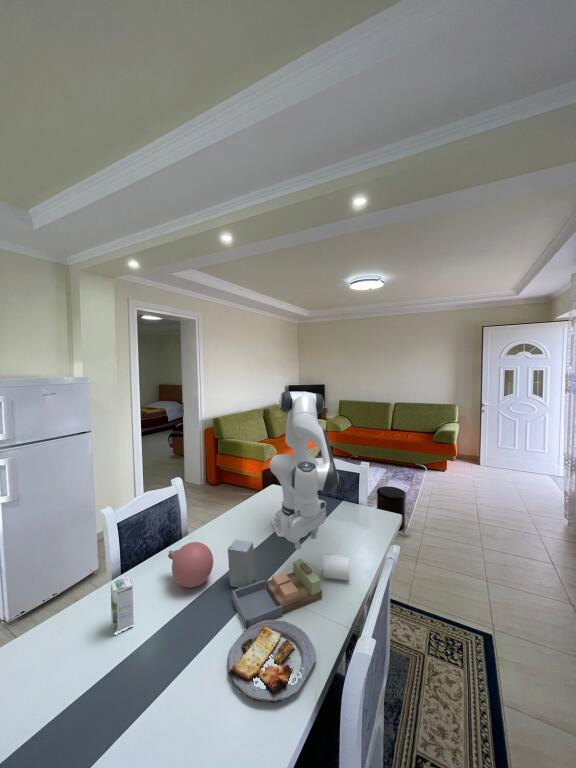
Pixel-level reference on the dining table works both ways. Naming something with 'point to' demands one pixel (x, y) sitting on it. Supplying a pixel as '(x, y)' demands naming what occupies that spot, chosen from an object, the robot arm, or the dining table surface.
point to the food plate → (256, 651)
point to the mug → (336, 567)
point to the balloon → (191, 564)
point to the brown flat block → (296, 603)
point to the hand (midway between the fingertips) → (306, 543)
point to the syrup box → (121, 603)
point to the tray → (255, 604)
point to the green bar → (306, 576)
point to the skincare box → (241, 563)
